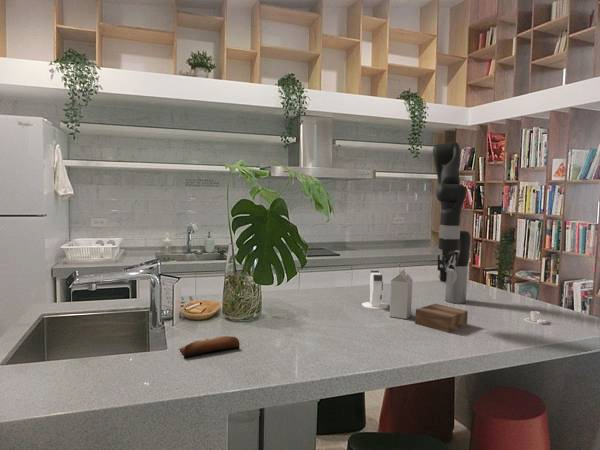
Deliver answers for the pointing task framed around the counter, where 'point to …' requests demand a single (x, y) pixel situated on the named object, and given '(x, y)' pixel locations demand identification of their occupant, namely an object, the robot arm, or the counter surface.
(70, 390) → the counter surface
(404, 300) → the milk carton
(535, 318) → the teacup and saucer
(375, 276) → the white device on stand
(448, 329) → the walnut block
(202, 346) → the sunglasses case
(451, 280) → the die
